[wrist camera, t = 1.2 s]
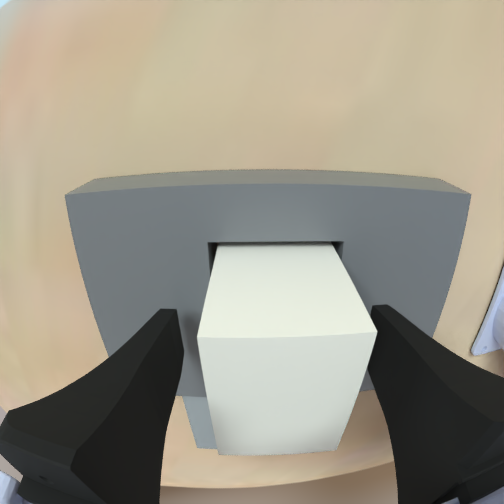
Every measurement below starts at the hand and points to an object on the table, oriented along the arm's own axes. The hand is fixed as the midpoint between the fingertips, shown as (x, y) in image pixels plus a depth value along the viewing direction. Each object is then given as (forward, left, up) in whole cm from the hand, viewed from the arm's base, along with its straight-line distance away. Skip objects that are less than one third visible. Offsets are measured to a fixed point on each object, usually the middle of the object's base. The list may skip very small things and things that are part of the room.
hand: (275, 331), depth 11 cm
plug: (0, 0, -3) cm, 3 cm away
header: (0, 0, -3) cm, 3 cm away
